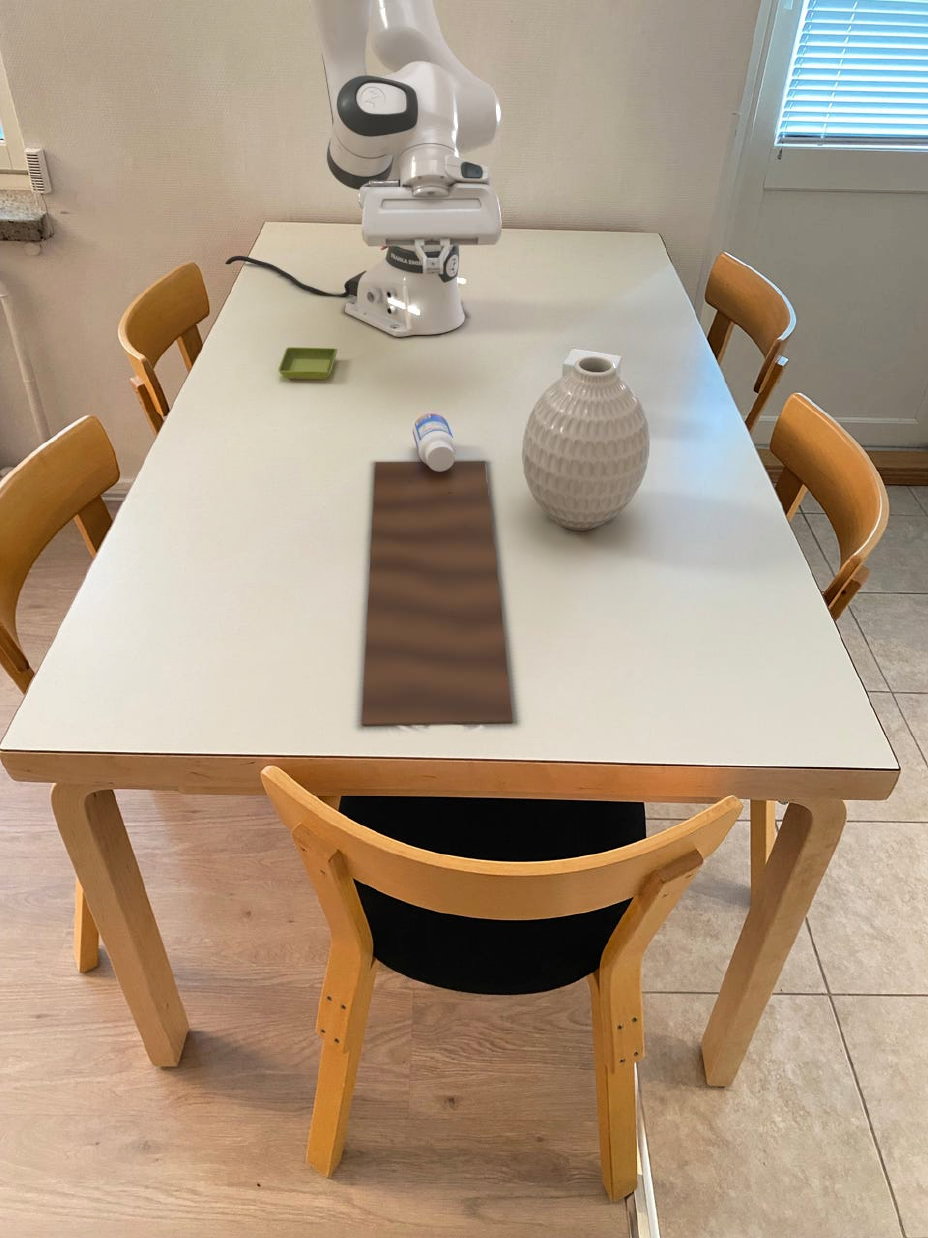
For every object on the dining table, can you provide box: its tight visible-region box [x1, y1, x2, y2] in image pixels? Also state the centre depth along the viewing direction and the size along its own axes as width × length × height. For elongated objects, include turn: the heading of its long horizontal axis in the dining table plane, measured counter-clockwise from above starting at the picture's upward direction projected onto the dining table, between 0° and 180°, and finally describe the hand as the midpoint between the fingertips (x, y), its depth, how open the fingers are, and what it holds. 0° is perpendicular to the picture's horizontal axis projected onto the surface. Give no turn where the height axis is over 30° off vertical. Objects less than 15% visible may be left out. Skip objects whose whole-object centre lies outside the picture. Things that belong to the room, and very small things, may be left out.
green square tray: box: [277, 346, 338, 380], centre depth 161 cm, size 9×9×2 cm
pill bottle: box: [412, 412, 457, 472], centre depth 139 cm, size 6×5×10 cm
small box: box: [561, 348, 623, 378], centre depth 147 cm, size 8×6×10 cm
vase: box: [521, 356, 651, 531], centre depth 124 cm, size 16×16×22 cm
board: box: [361, 460, 514, 726], centre depth 121 cm, size 51×16×1 cm, turn 2°
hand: (433, 272), depth 139 cm, fingers closed
